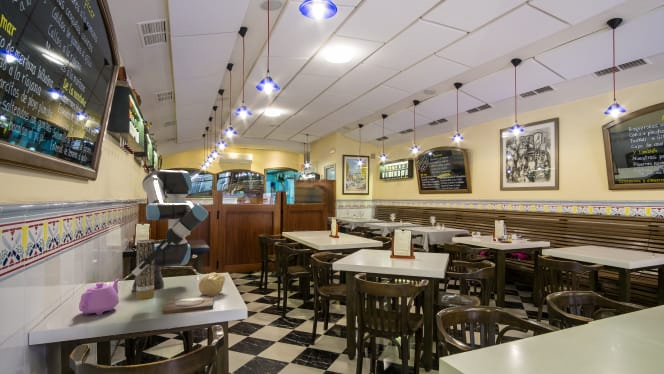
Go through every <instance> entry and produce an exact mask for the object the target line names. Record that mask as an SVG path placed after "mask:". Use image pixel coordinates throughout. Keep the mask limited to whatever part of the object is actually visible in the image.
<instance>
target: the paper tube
mask: <svg viewBox="0 0 664 374" xmlns="http://www.w3.org/2000/svg"><path fill="white" fill-rule="evenodd" d="M155 244H156V243H155V239H150V238H149V239H139V240H137V241H136V256H137V258H136V267H137V266H139V265H140V264H141V263H142V262H143V259H146V258H148V257H149V256H150V255H151V254H152V253H153V252H154V246H155ZM149 261H150V260H149ZM136 267H135V268H136ZM135 278H136V291H135V294H136V295H135V296H136V297H135V299H136V300H138V301H146V300H147V301H148V300H149V299H153V298H154V296H155V290H154V260H153V261H152V262H151V263H150V264H149V265H148V266H147V267H146V268H145V269H144V270H143V271H142V272H141V273H140V274H139V275H138V276H135Z"/></svg>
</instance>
